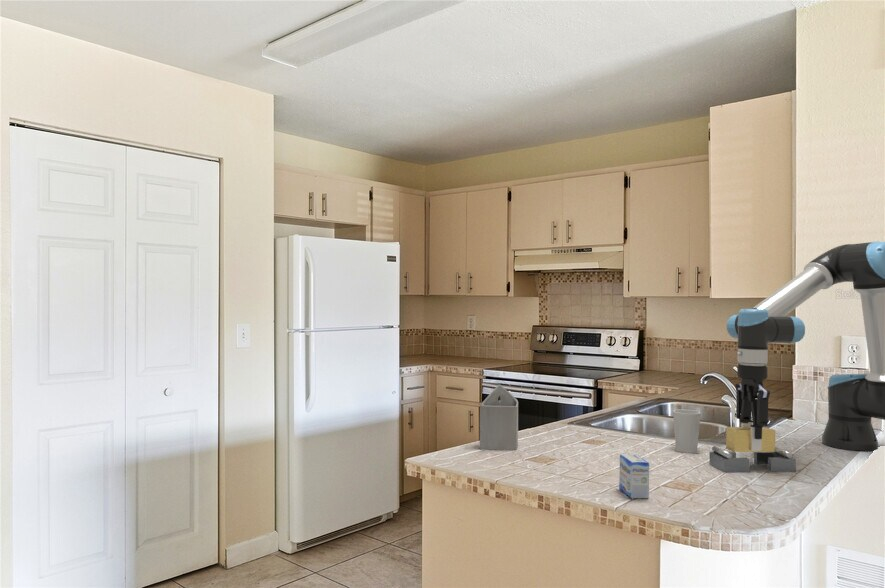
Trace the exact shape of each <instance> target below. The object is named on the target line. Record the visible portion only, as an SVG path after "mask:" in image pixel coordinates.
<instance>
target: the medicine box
mask: <svg viewBox="0 0 885 588" xmlns="http://www.w3.org/2000/svg"><path fill="white" fill-rule="evenodd" d="M618 475H619V476H618V477H619V478H618V479H619V481H618V484H619V485H618V486H619V487H618V488H619V490H620V491H621V490H622V491H623V492H622V491H621V492H622V493H624V494H625V495H626V496H627V495H628V496H627V497H629V499H631V498H648V499H650V463H649V462H648V461H646V460H645V459H644V458H642V457H641V456H639V455H638V454H634V453H624V454H623V453H621V454H619V473H618Z"/></svg>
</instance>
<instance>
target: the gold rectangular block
mask: <svg viewBox="0 0 885 588" xmlns="http://www.w3.org/2000/svg"><path fill="white" fill-rule="evenodd" d="M725 436H726V438H725V440H726V441H725V449H726V450H729V451H733V452H736V453H754V452H775V447H776V429H773V428H770V427H768V426H764V427H762V451H751V427H741V426H726V434H725Z"/></svg>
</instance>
